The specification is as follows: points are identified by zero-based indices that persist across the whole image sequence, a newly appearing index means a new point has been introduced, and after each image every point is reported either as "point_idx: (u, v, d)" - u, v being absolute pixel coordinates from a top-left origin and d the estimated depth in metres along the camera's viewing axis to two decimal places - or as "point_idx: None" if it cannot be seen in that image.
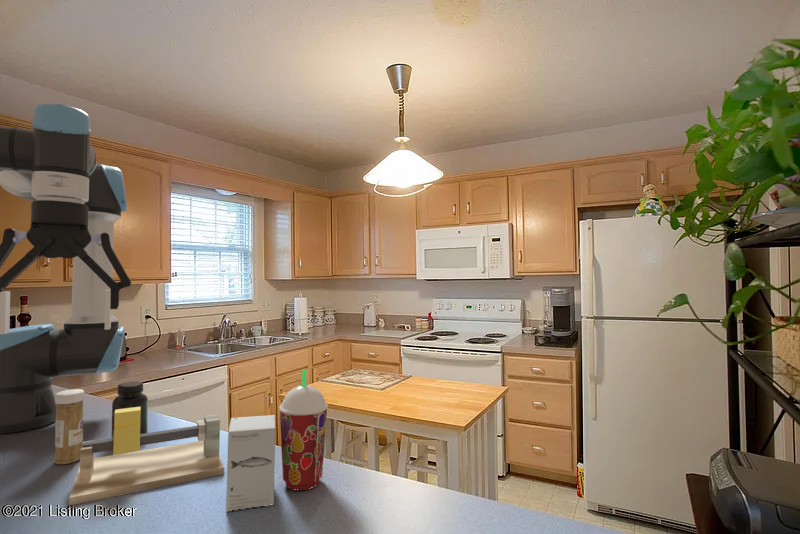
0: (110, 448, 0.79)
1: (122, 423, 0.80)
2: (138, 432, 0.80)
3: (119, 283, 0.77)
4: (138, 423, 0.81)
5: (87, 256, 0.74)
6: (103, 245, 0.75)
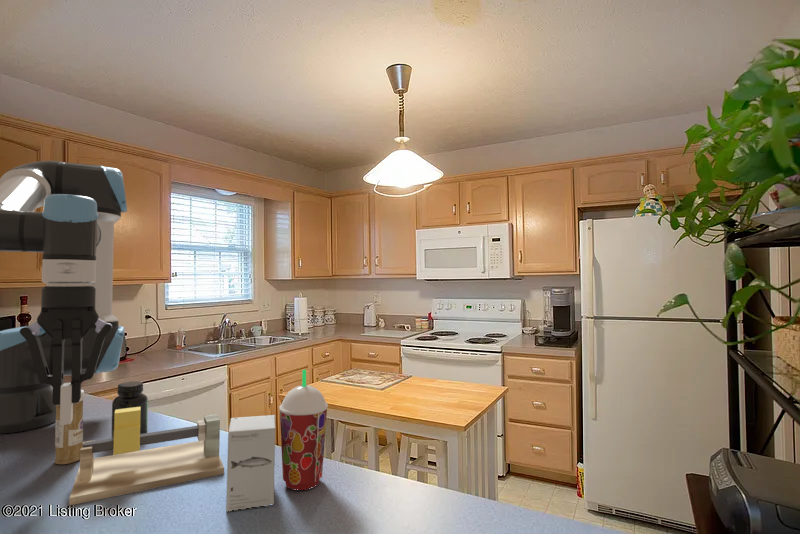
0: (110, 448, 0.79)
1: (122, 423, 0.80)
2: (138, 432, 0.80)
3: (81, 376, 0.77)
4: (138, 423, 0.81)
5: (78, 343, 0.76)
6: (99, 334, 0.78)
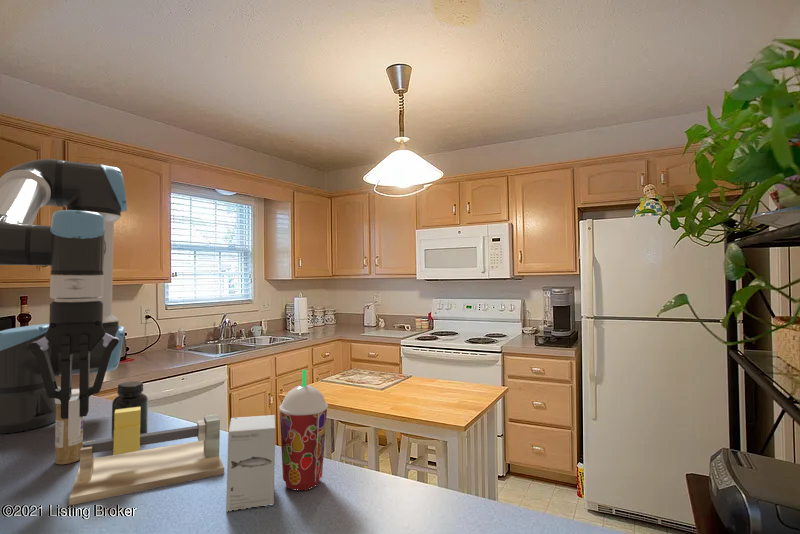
0: (110, 448, 0.79)
1: (122, 423, 0.80)
2: (138, 432, 0.80)
3: (88, 390, 0.78)
4: (138, 423, 0.81)
5: (86, 358, 0.77)
6: (106, 348, 0.79)
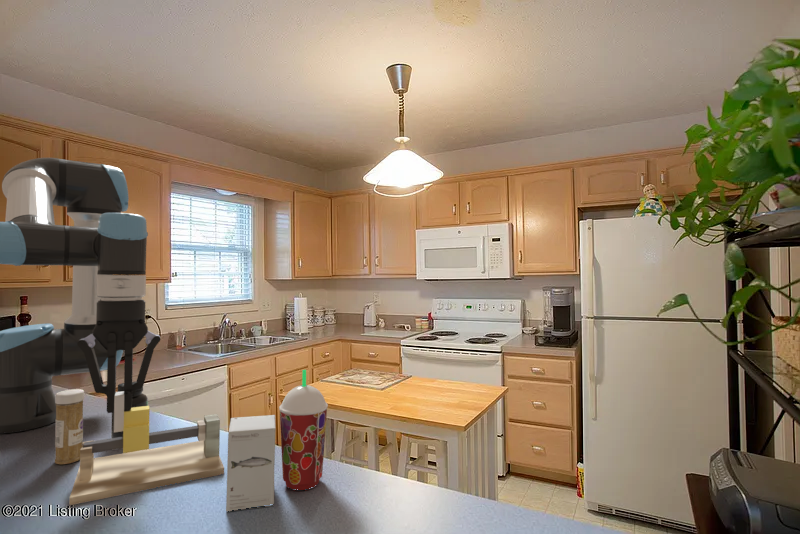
0: (110, 448, 0.79)
1: (131, 422, 0.81)
2: (147, 431, 0.81)
3: (132, 385, 0.81)
4: (147, 422, 0.82)
5: (131, 354, 0.80)
6: (149, 345, 0.82)
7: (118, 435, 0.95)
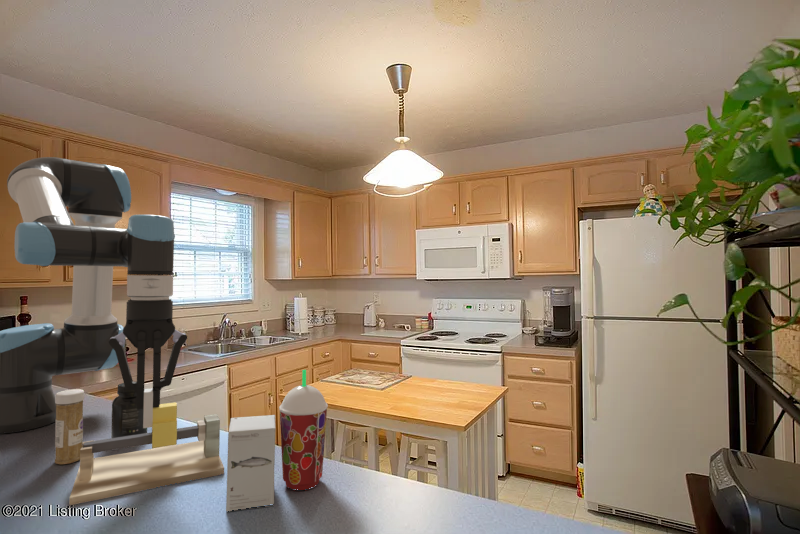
0: (110, 448, 0.79)
1: (160, 418, 0.83)
2: (175, 427, 0.83)
3: (160, 383, 0.83)
4: (175, 418, 0.84)
5: (159, 352, 0.82)
6: (177, 343, 0.84)
7: (118, 435, 0.95)
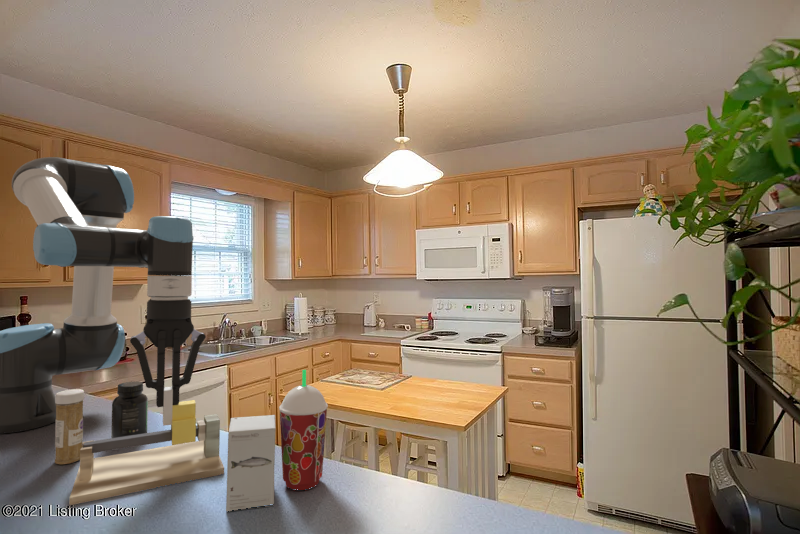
0: (110, 448, 0.79)
1: (179, 415, 0.84)
2: (194, 424, 0.85)
3: (180, 381, 0.85)
4: (193, 415, 0.86)
5: (179, 351, 0.84)
6: (195, 343, 0.86)
7: (118, 435, 0.95)
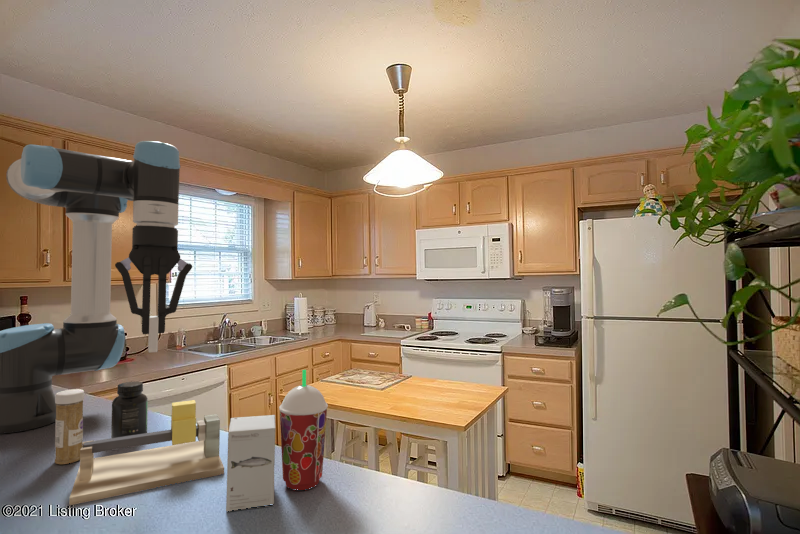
0: (110, 448, 0.79)
1: (179, 415, 0.84)
2: (194, 424, 0.85)
3: (165, 309, 0.84)
4: (194, 415, 0.86)
5: (165, 279, 0.83)
6: (182, 272, 0.85)
7: (118, 435, 0.95)
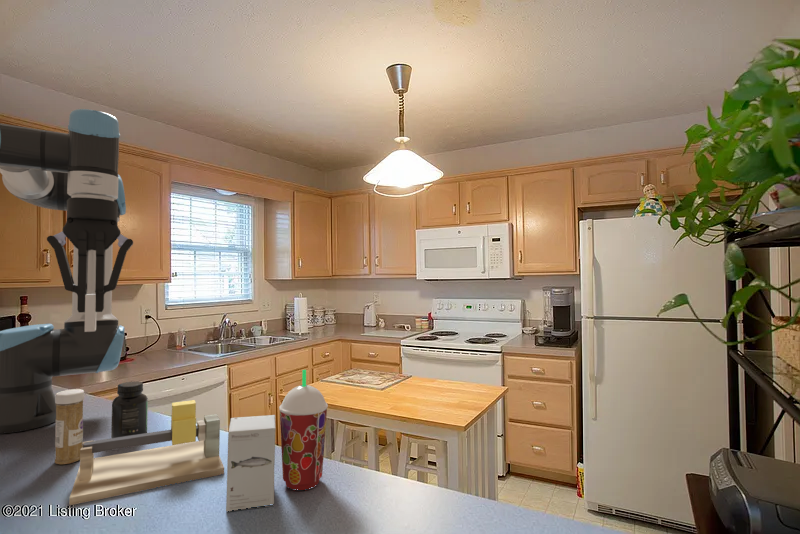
0: (110, 448, 0.79)
1: (179, 415, 0.84)
2: (194, 424, 0.85)
3: (104, 287, 0.80)
4: (194, 415, 0.86)
5: (102, 254, 0.79)
6: (121, 247, 0.81)
7: (118, 435, 0.95)
